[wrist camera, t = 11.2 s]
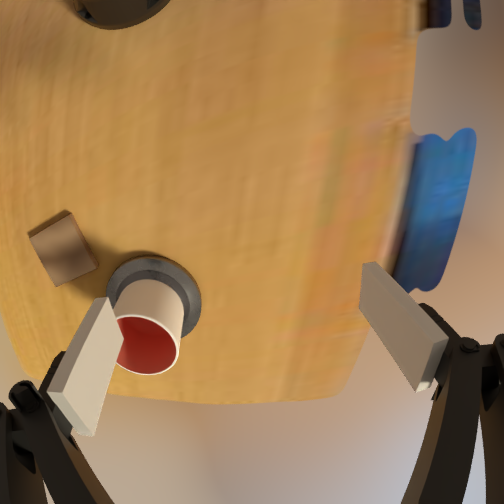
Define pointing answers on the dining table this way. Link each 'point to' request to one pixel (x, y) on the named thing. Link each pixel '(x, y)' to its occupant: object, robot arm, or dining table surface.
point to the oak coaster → (64, 251)
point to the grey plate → (164, 273)
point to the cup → (149, 327)
